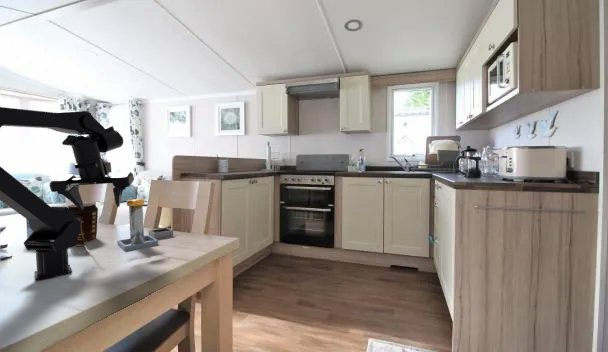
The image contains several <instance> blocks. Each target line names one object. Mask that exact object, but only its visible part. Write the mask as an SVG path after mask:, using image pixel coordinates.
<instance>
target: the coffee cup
mask: <svg viewBox="0 0 608 352" xmlns="http://www.w3.org/2000/svg"><path fill="white" fill-rule="evenodd" d="M83 206H84V209H83V210H80V209H79V208H78V207H77V206H76V205H75V204H71V205H68V206H67V207H68V208H69V209H70V210H71V211H72V212H73V213H74V214H75V215H78V216H79V217H78V218H77V219H79V220H80V222H81V229H80V233H79V237H78V240H77V244H76V246H75V247H85V246H86V244H85V242H92V241H94V240H96V239H97V233H98V213H99V212H98V211H99V208H98V206H97V205H96V203H91V202H89V203H83Z"/></svg>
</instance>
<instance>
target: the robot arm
mask: <svg viewBox="0 0 608 352" xmlns="http://www.w3.org/2000/svg"><path fill="white" fill-rule="evenodd" d="M2 127H16V128H17V127H18V128H36V129H38V128H39V129H48V130H53V131H55V132H57V133H58V132H59V133H64V134H67V137H66V138H65V139H64V140H63V141H62V142H61V144H62V145H63V146H71V149H72V154H73V156H74V160H75V164H74V168H75V169H77V171H78V174H79V175H78V176H79V178H77V177H76V176H75V175H74V174H64V175H63V174H59V175H58V176H56V177H55V178H54V179H52V180H51V181H50V182H49V185H48V186H49V189H50V192H52V193H57V195H61V196H64V197H65V198H66V199H68V200H69V201H70V202H71V203H72V204H73V205H76V206H77V207H78V208H79V209H80V210H83V209H84V206H83V204H84V202H83V200H82V196H81V193H80V189H79V187H80V186H87V185H90V186H91V185H103V184H104V185H105V184H112V186H113V188H112V192H113V196H114V201H115V205H116V207H117V208H119V207H120V205H121V200H122V197H123V192H124V190H126V189H127V188H128V187H130V186H131V184H132V183H134V180H135V176H134V173H132V171H117V172H116V174H115V175H114V176H113V175H112V176H108V175H109V174H110V173H112V163H111V162H109V161H105V159H104V157H102V155H101V153H102V154H103V153H107V152H111V151H114V150H116V149H119V148H121V147H122V146H123V144H124V138H123V136H122V135H121V133H119V132H118V131H117V130H115V128H114V126H113V125H110V126H109V125H107V126H103V125H102V124H101V123H100V122H99V121H98V120H97V119H95V118H94V116H93V114H92V113H91V112H89V111H87V110H78V111H77V110H75V111H60V112H59V111H57V112H53V111H42V110H33V109H32V110H31V109H25V108H24V109H23V108H12V107H3V106H0V129H1V128H2ZM72 134H76V135H72ZM0 201H1V202H2V203H3V204H5V205H6V206H8V207H9V208H11V209H12V210H13V211H15V212H16V213H18V214H19V215H20V216H22V217H23V218H25V220H26V219H27V220H28V221H29V225H30V228H31V230H32V231H33V233H32V234H31V235H30V236H29V237H28V238H27V237H26V239H25V240H24V242H23V245H24V247H25V249H26V250H27V251H35V260H36V261H35V263H36V270H35V271H34V281H40V280H45V279H49V278H55V277H58V276H64V275H68V274H71V273H73V270H72V267H71V264H69V250H68V249H71V248H74V247H77V246H76V244H77V240H78V237H79V233H80V229H81V222H80V220H79V219H77V218H78V217H79V216H78V215H75V214H74V213H73V212H72V211H71V210H70V209H69V208H68V206H50V205H49V204H48V203H47V202H45V201H44V200H43V199H41V198H40V197H39V196H38V195H37V194H36V193H34V192H33V191H31V190H30V189H29V188H28V187H27V186H26V185H24V184H23V183H22V182H20V181H19V180H18V179H17V178H15V177H14V176H13V175H12V174H11V173H9V172H8V171H7V170H6V169H5V168H4V167H2V166H0ZM51 240H55V241H54V242H50V241H51Z"/></svg>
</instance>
